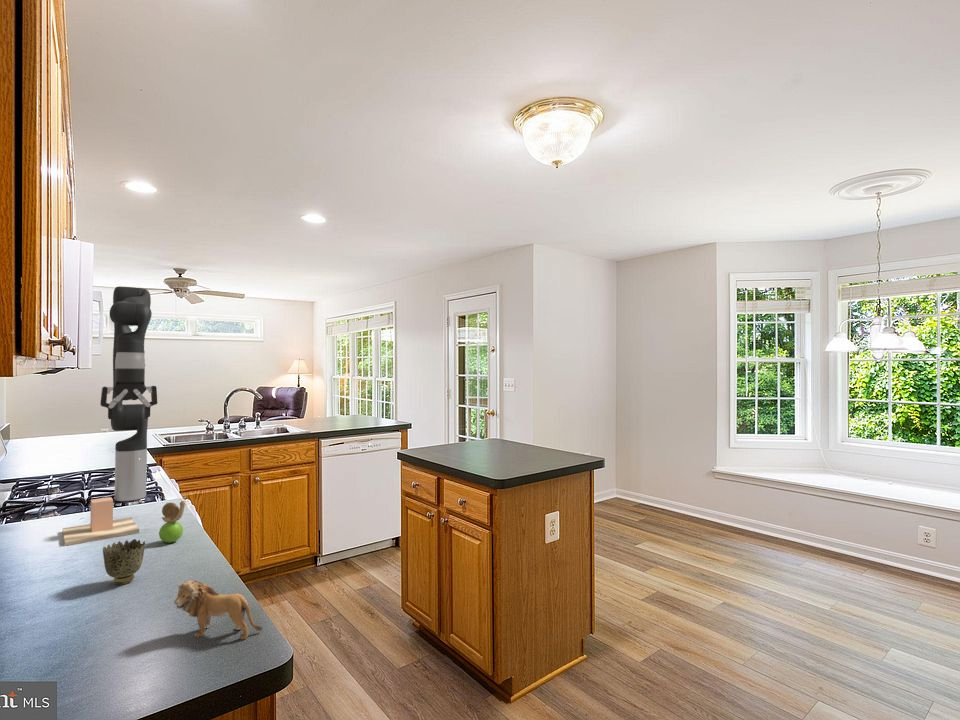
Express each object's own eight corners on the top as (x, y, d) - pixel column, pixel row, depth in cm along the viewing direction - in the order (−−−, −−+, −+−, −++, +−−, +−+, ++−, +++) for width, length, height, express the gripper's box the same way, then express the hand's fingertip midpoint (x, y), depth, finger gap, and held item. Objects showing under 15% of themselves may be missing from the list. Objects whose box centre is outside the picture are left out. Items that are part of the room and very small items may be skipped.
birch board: (62, 531, 140) (62, 528, 140) (131, 520, 151) (131, 517, 151) (64, 545, 129) (64, 542, 129) (139, 532, 140) (139, 529, 140)
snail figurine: (178, 545, 129) (179, 499, 130) (154, 545, 130) (154, 499, 130) (191, 538, 135) (191, 494, 135) (167, 538, 135) (168, 493, 135)
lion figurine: (167, 642, 84) (168, 588, 84) (185, 626, 89) (185, 575, 89) (257, 640, 84) (257, 586, 84) (269, 624, 90) (269, 573, 90)
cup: (151, 579, 108) (152, 542, 109) (112, 592, 102) (113, 553, 102) (133, 572, 112) (134, 536, 112) (95, 584, 106) (96, 546, 106)
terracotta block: (90, 528, 140) (90, 499, 140) (110, 525, 143) (111, 497, 144) (91, 532, 137) (92, 503, 137) (112, 528, 140) (113, 500, 140)
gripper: (155, 367, 162) (154, 417, 162) (100, 367, 153) (99, 420, 152) (159, 367, 156) (158, 419, 156) (102, 367, 147) (101, 422, 147)
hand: (129, 419), depth 154 cm, fingers open, 8 cm apart
